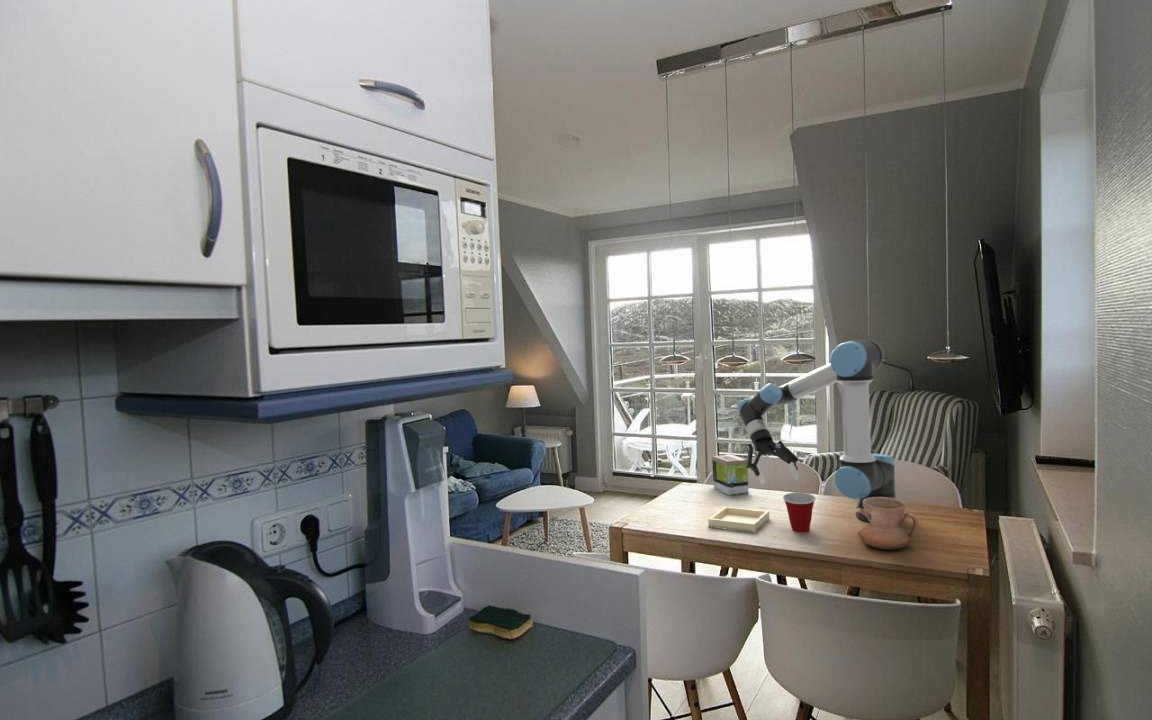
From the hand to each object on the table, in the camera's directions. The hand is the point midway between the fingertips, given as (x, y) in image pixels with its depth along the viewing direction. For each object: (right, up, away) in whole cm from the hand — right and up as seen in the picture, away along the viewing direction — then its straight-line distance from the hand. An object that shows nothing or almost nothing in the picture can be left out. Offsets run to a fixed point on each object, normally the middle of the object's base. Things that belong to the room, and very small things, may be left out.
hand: (780, 480), depth 234 cm
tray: (-15, -16, +1) cm, 22 cm away
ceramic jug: (+24, -15, -31) cm, 42 cm away
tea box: (-7, -13, +47) cm, 49 cm away
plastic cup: (+3, -15, -11) cm, 19 cm away
